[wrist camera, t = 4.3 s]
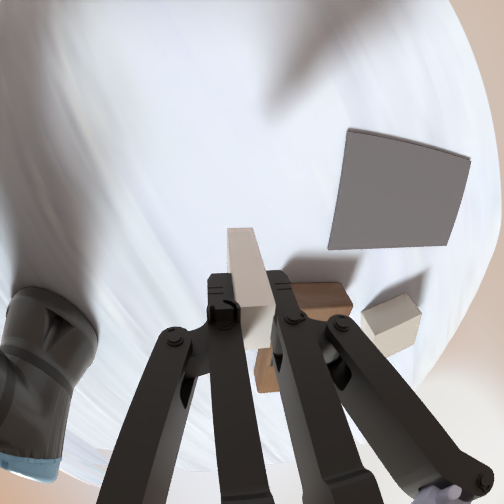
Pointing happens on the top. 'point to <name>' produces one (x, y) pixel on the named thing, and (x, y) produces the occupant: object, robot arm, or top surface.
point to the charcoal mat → (396, 194)
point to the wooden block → (316, 307)
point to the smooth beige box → (392, 324)
